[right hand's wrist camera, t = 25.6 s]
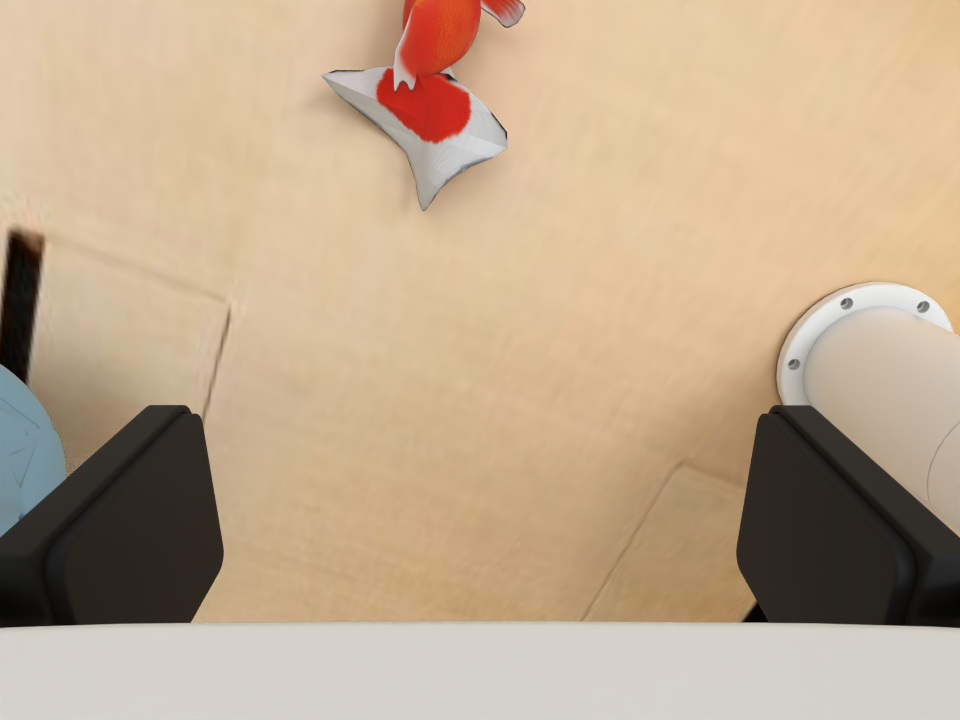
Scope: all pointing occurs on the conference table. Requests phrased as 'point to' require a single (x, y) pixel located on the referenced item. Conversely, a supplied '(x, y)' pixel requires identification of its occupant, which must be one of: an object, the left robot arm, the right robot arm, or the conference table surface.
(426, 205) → the fish
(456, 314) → the conference table surface
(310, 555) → the conference table surface
